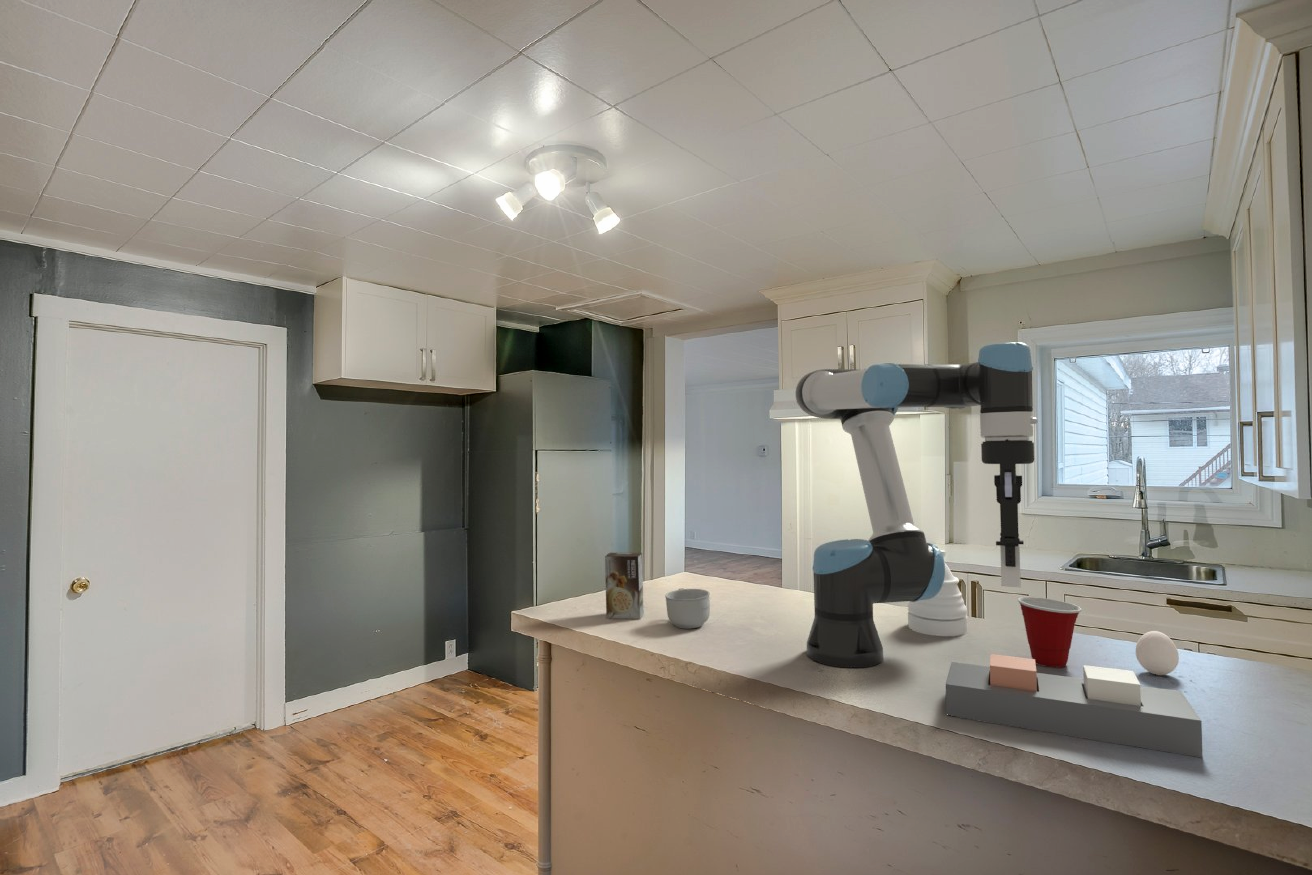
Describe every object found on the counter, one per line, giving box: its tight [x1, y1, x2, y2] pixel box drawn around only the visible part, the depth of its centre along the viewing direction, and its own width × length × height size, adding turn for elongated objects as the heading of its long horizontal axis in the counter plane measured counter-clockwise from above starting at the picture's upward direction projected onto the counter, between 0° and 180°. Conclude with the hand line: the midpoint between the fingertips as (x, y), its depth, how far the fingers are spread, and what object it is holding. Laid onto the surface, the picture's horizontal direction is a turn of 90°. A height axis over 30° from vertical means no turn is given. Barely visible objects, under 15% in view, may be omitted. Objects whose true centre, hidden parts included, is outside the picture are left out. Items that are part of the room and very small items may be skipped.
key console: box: [945, 661, 1204, 758], centre depth 102 cm, size 32×12×5 cm, turn 62°
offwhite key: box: [1082, 664, 1141, 706], centre depth 99 cm, size 6×6×4 cm
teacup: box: [664, 587, 711, 630], centre depth 161 cm, size 14×11×8 cm
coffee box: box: [604, 552, 645, 620], centre depth 170 cm, size 9×6×16 cm
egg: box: [1135, 630, 1180, 676], centre depth 121 cm, size 6×6×8 cm
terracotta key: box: [989, 653, 1037, 692], centre depth 105 cm, size 6×6×4 cm
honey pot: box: [907, 549, 969, 637], centre depth 154 cm, size 13×13×18 cm
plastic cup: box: [1017, 596, 1082, 668], centre depth 128 cm, size 11×11×12 cm
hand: (1010, 585), depth 105 cm, fingers closed
